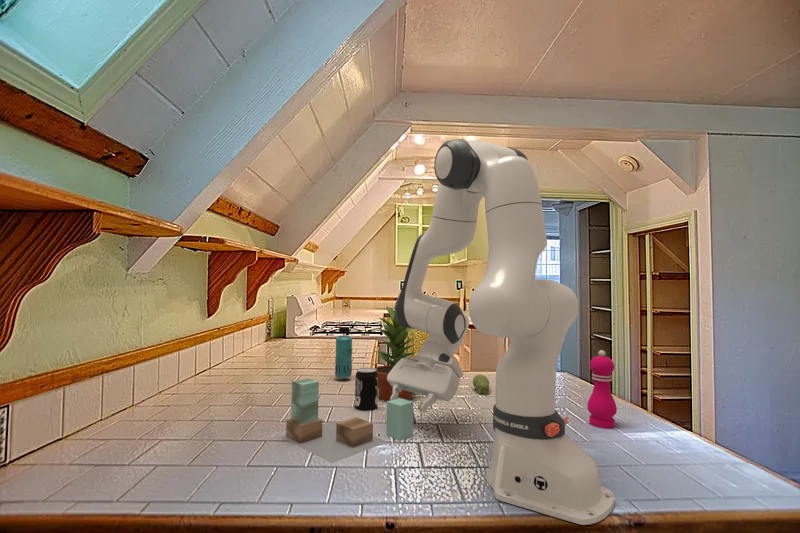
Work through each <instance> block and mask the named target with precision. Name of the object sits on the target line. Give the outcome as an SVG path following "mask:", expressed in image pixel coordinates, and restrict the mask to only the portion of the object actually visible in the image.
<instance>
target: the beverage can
mask: <svg viewBox="0 0 800 533" xmlns="http://www.w3.org/2000/svg"><path fill="white" fill-rule="evenodd" d="M375 368H376V367H375ZM375 368H374V367H359V368H357V371H356V372H355V379H354V380H355V382H354V383H355V384H354V387H355V388H354V392H355V393H354V409H355V410H357V411H363V412H369V411H370V412H371V411H375V410H377V409H378V399H379V396H378V395H379V390H378V374H377V372H376V371H377V369H375Z"/></svg>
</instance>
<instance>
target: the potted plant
mask: <svg viewBox="0 0 800 533" xmlns="http://www.w3.org/2000/svg"><path fill="white" fill-rule="evenodd" d="M385 307H386V311H387V313H388V316H389V317H390V319H391V321H392V324H391V322H389V321H388V320H386V319H384V318H382V317H378V316H377V318H378V319H380V321H382V327H383V328H384V329H382V328H378V327H377V329H378V330H379V331H380V332H381V333H382V334H383V335H385V336H386V338H388V339H389V341H387V340H383V339H381V341H382V342H383V343H384V344H385V346H387V347H389V349H390V350H391V354H389V353H387V352H385V351H381V350H378V351H375V352H376V354H378V357H380V358H381V359H382V360H384V361H385V363H387V364H388V365H381V366H377V367H375V369H377V371H376V372H377V374H378V395H379V398H380V399H381V400H383V401H386V402H388V401H390V398H391V396H392V394H393V387H392V386H391V385H390V383H389V382H388V381H387V376H388V374H389V373H390V371H391V370H392V368H393V367H394V366H395V365H396V364H397V362H398V361H400V360H401V359H402V358H405V357H407V356H411V355H415V354H417V353H418V351H417V352H416V351H413V352H408V350H409V349H410V348H412V347H413V346H415V345H416V344H412V345H408V344H409V343H410V342H412V341H413V340H416V337H414V338H409V339H408V340H407V341H406V339H407V337H408V335H409V332H410V330H412V328H407V327H403V326H401V325H400V324H399V322H398V321H397V319H396V316H395V313H394V308H392V307H390V306H388V305H387V304H385ZM406 345H407V346H406ZM412 394H413V392H410V391H406V390H403V389H402V391H401V392H399V395H398V397H399V398H401V399H405V400H408V401H410V400H411V397H412Z"/></svg>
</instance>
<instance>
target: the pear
mask: <svg viewBox="0 0 800 533" xmlns="http://www.w3.org/2000/svg"><path fill="white" fill-rule="evenodd" d="M472 385H473V388H475V390H476V391H475V393H477V394H478V395H482V396H484V395H487V396H488V395H489V394H490V393H491V391H490V380H489V379H488V377H486V376H485V375H484V374H477V375H475V376H474V377H473V379H472Z"/></svg>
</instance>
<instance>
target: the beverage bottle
mask: <svg viewBox="0 0 800 533" xmlns="http://www.w3.org/2000/svg"><path fill="white" fill-rule="evenodd" d="M338 333H339V334H349V333H351V331H350V327H349V326H340V327H339V329H338ZM334 361H335V364H334V366H335V367H334V376H335V377H336V378H338V379H339V378H340V379H344V378H351V377H352V375H353V373H352V372H353V338H352V336H351V335H338V336H337V337H336V338H335V359H334Z"/></svg>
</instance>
